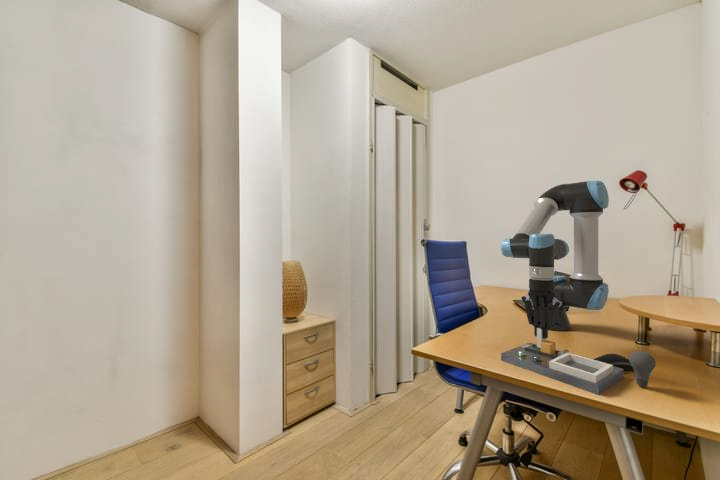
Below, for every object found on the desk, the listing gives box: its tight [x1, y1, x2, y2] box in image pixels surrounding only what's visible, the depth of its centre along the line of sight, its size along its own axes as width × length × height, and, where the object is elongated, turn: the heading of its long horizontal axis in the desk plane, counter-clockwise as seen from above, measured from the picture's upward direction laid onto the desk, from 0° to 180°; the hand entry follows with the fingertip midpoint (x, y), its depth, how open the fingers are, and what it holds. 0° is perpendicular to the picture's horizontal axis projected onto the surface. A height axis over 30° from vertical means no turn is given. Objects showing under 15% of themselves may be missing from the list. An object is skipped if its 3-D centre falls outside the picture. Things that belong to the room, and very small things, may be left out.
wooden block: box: [540, 339, 557, 355], centre depth 107 cm, size 4×3×4 cm
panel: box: [500, 342, 625, 396], centre depth 101 cm, size 18×28×4 cm, turn 34°
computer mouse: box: [592, 353, 635, 373], centre depth 102 cm, size 7×12×4 cm, turn 84°
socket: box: [549, 352, 613, 383], centre depth 94 cm, size 12×12×2 cm
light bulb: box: [628, 350, 657, 388], centre depth 88 cm, size 6×6×10 cm
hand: (541, 346), depth 109 cm, fingers closed
